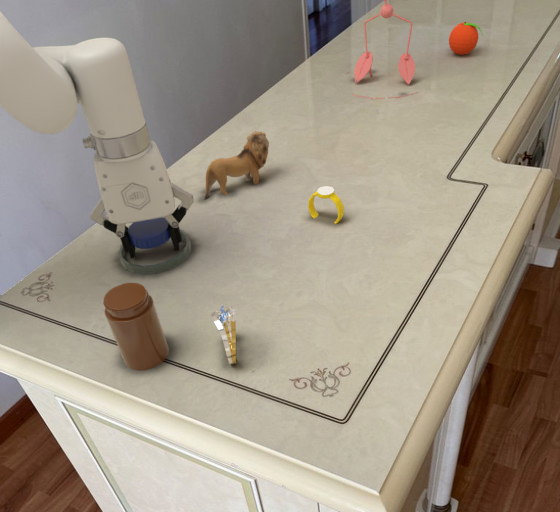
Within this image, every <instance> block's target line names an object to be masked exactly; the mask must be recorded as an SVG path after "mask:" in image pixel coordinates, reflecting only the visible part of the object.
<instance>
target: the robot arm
mask: <svg viewBox="0 0 560 512" xmlns="http://www.w3.org/2000/svg"><path fill="white" fill-rule="evenodd" d="M133 73H134V72H133V70H132V65H131V62H130V58H129V55H128V52H127V49H126V46H125V45H124V43H122V41H120V40H118V39H116V38H114V37H113V38H112V37H96V38H90V39H87V40H83V41H80V42H78V43H77V44H70V45H53V46H52V45H51V46H49V45H48V46H34V47H32V45H30V43H28V42H27V40H26V39H25V38H24V37H23V36H22V35H21V34H20V33H19V32H18V31H17V29H16V28H15V27H14V26H13V24H12V23H11V22H10V21H9V20H8V19H7V17H6V16H5V15H4V14H3V12H2V11H1V10H0V107H1V108H2V109H4V111H5V112H7V114H9V115H10V116H11V117H12V118H13V119H15V120H16V121H17V122H18V123H19V124H21V125H22V126H24V127H25V128H27V129H29V130H31V131H33V132H35V133H38V134H42V135H55V134H59V133H61V132H63V131H66V129H68V128H69V127H70V126H71V125H72V123H74V121H75V118H76V115H77V111H78V104H79V105H81V108H82V111H83V113H84V117H85V119H86V122H87V126H88V129H89V132H90V134H89V135H87V137H83V138H82V144H83V146H84V147H83V148H84V149H89V148H90V149H93V150H94V151H95V153H94V155H93V166H94V172H95V177H96V182H97V186H98V189H99V194H100V198H99V200H98V201H97V203H96V205H95V206H93V209H92V210H91V212H90V220H91V221H93V222H95V223H96V224H98V225H100V226H102V227H103V228H104V229H106V230H108V231H109V232H111V233H113V234H115V236H116V237H118V238H119V239H120V242H121V245H123V248H124V251H125V252H126V253H128V255H129V258H130V259H131V260H132V259H135V258H136V250H137V248H136V247H134V246H133V245H132V244H131V241H130V238H129V234H128V228H129V226H127V224H132V223H134V222H139V221H145V220H151V219H156V218H162V217H164V218H165V219H166V220H167V222H168V223H169V232H170V236H171V238H170V239H171V243H172V246H173V247H172V248H173V250H174V251H176V252H177V251H180V243H183V239H182V237H181V233H180V230H181V229H180V223H181V222H182V220H183V219H184V217H186V214H187V212H188V211H189V210H190V208H191V206H192V205H193V204H194V201H195V200H194V195H193V194H192V193H190V192H188V191H187V190H185V189H183V188H181V187H179V186H178V185H176V184H174V183H173V182H172V181H171V179H170V178H171V177H170V175H169V172H168V169H167V167H166V164H165V160H164V159H163V156H162V154H161V151H160V149H159V147H158V144H156V142H155V141H154V140H152V139H151V138H150V133H149V130H148V127H147V122H146V119H145V115H144V111H143V107H142V104H141V100H140V96H139V92H138V88H137V85H136V81H135V77H134V74H133ZM175 198H176V199H177V200H179V201H181V202H180V204H179V205H178V206H176V201H175ZM104 212H105V213H106V214H104Z"/></svg>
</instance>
